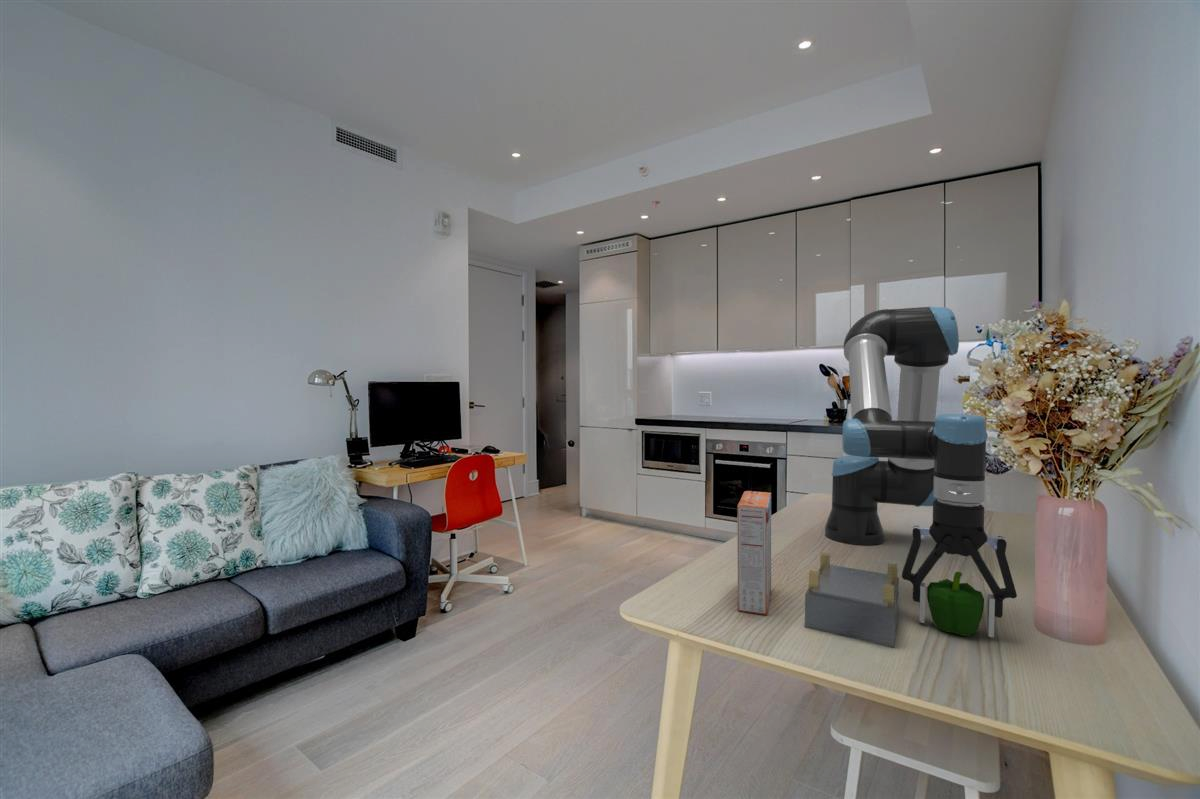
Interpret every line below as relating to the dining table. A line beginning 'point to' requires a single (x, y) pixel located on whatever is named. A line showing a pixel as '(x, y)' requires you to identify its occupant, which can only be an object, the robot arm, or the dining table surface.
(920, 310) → the robot arm
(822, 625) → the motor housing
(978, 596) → the bell pepper
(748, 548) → the cracker box
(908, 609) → the dining table surface
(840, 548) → the dining table surface
